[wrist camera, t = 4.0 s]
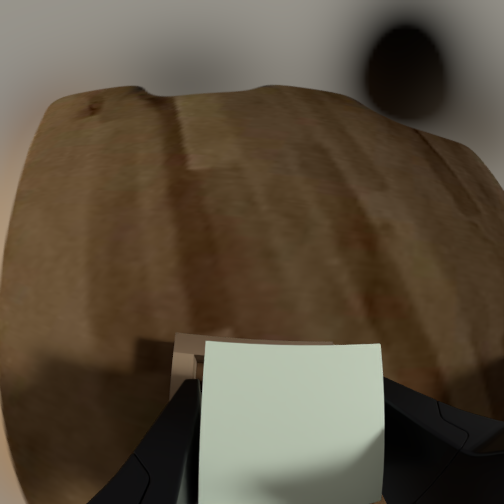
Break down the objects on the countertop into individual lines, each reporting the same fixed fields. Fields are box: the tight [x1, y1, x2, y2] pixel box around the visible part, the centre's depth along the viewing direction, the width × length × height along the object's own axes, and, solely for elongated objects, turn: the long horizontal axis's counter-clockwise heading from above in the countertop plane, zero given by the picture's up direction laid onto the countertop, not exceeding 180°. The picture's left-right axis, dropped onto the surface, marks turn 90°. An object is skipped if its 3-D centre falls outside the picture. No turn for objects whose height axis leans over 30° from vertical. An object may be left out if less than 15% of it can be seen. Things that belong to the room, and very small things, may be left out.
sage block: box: [198, 341, 385, 504], centre depth 9 cm, size 4×4×10 cm
